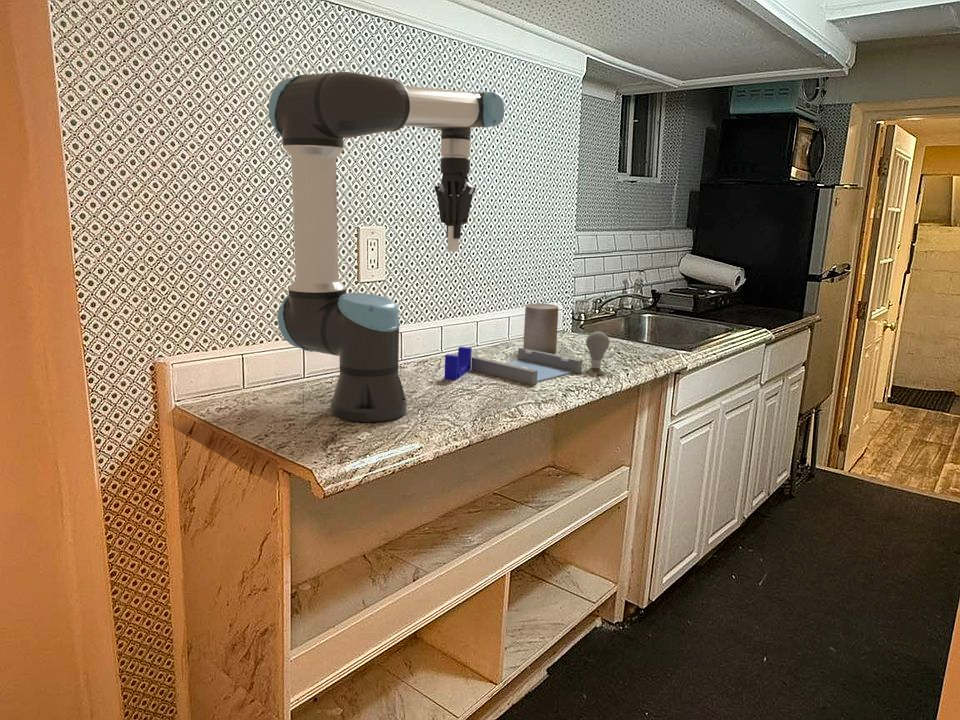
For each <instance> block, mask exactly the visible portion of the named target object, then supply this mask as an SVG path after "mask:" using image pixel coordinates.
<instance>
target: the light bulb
mask: <svg viewBox="0 0 960 720" xmlns="http://www.w3.org/2000/svg"><path fill="white" fill-rule="evenodd" d="M585 343H586V347H587V350H588V351H589V355H590V360H591V362H590V363H591V365H590V367H591V368H592V369H596V370H597V369H600V368H601V367H602V360H603V358H604V355H605V353H606V352H607V350H608V348H609V346H610V339H609V337H608V335H607V334H606V333H605V332H603V331H598V330H597V331H594V332H593V331H592V332H591V333H590V334H589V335H588V336H587V338H586V342H585Z"/></svg>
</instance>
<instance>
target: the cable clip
mask: <svg viewBox="0 0 960 720" xmlns="http://www.w3.org/2000/svg"><path fill="white" fill-rule="evenodd" d="M457 351H458V353H457V354H449V353H448V354H445V355H444V380H453V381H458V379H460V378H462V376H464V375H465V374H466V373H468V372H469V371H471V364H472V347H470V346H459V347H458V350H457Z"/></svg>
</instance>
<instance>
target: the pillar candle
mask: <svg viewBox="0 0 960 720" xmlns="http://www.w3.org/2000/svg"><path fill="white" fill-rule="evenodd" d="M524 306H525V307H524V308H525V311H524V329H523V344H522V345H523V347H522V348H527V349H531V350H536V351H541V352H546V353H551V354H555V353H557V342H558V340H557V339H558V322H559V306H558V305H555V304H548V303H544V301H542V303H528V304H525V305H524Z"/></svg>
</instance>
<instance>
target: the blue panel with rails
mask: <svg viewBox="0 0 960 720" xmlns="http://www.w3.org/2000/svg"><path fill="white" fill-rule="evenodd" d="M517 354H518V355H517V359H516V360H512V361H507V362H501V361H497V360H494V359H491V358H488V357H485V358H484V357H479V356H473V357H472V356H471V369H470V371H471V370H472V371H475V372H479V373H484V374H487V375H491V376H495V377H499V378H503V379H507V380H511V381H515V382H519V383H522V384H527V385H530V386H533V385H536V384H538V382H542V381H546V380H550V379H554V378H558V377H563V376H565V375H570V374H573V373H574V374H575V373H576V374H579V373H582V371H583V359H579V358H574V357H570V356H564V355H559V354H555V353H554V354H551V353H546V352H541V351H536V350H531V349H527V348H523V347H518V351H517Z"/></svg>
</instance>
